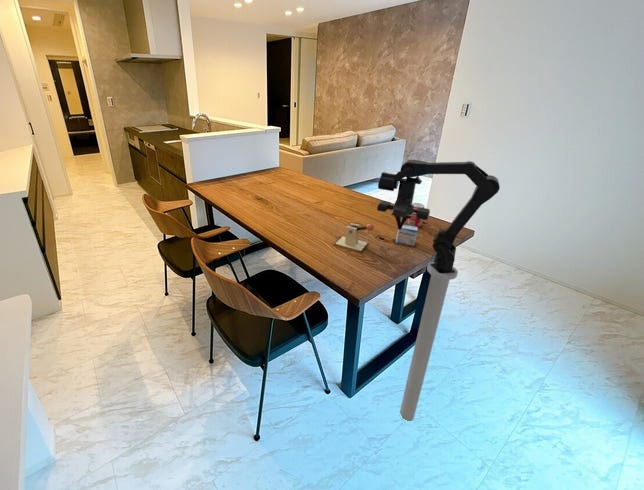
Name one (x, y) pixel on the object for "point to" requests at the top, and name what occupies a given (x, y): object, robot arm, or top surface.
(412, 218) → the soda can
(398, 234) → the medicine box
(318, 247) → the top surface
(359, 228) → the switch lever
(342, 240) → the switch bracket
